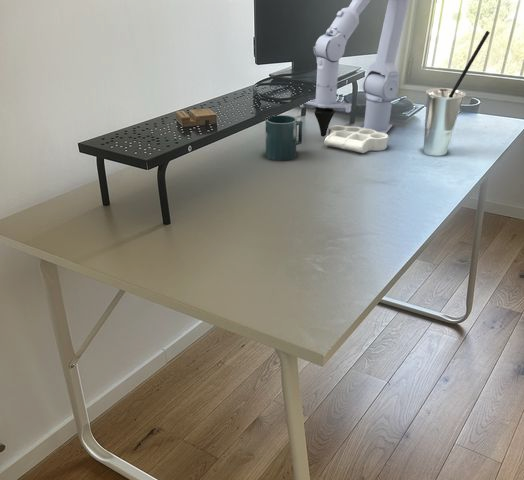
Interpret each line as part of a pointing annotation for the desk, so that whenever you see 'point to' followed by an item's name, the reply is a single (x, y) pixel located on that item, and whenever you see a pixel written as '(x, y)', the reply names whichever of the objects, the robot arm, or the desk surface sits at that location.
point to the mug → (282, 137)
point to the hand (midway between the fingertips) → (323, 135)
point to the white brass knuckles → (356, 139)
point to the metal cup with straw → (444, 112)
